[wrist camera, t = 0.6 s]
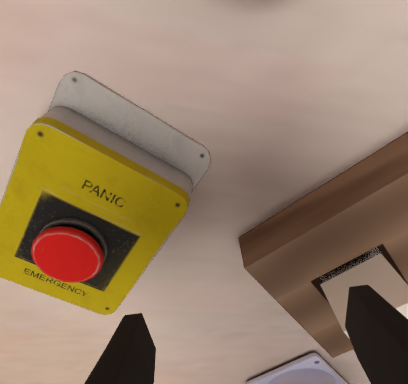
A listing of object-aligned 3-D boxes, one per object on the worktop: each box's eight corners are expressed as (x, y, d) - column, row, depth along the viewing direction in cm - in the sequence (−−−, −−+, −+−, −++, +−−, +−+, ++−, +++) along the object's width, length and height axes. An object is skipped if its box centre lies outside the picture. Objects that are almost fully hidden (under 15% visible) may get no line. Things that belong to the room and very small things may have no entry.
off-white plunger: (404, 290, 18) (443, 337, 15) (347, 316, 20) (373, 365, 17) (380, 253, 17) (418, 297, 14) (320, 284, 18) (343, 332, 15)
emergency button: (-47, 298, 17) (27, 70, 11) (-2, 250, 21) (71, 62, 15) (99, 347, 20) (222, 183, 14) (115, 296, 23) (216, 150, 18)
